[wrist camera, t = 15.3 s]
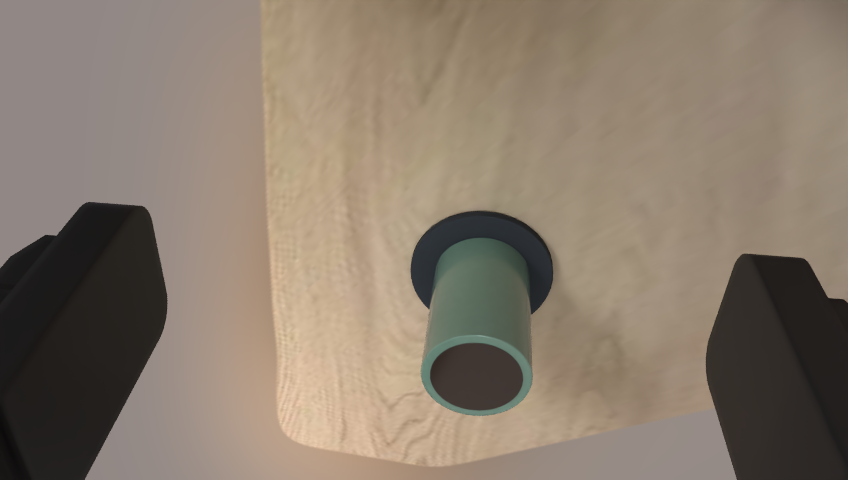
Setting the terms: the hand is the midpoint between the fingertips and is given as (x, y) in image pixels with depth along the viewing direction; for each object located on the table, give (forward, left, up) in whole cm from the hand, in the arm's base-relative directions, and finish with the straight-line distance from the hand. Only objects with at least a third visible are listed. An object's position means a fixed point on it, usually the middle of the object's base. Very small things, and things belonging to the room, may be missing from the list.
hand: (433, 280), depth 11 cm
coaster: (+12, -19, -31) cm, 38 cm away
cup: (+12, -19, -30) cm, 38 cm away
